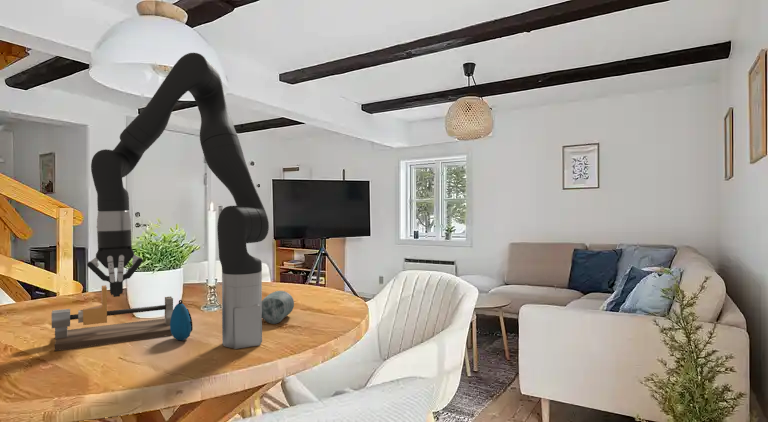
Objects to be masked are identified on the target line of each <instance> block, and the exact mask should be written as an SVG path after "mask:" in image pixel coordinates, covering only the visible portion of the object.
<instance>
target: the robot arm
mask: <svg viewBox="0 0 768 422" xmlns="http://www.w3.org/2000/svg"><path fill="white" fill-rule="evenodd" d="M224 91H225V90H224V86H223V82H222V78H221V76H220V73H219V71H218V70H217V69H216V67H214V66H213V64H211V62H210V61H209V60H208V59H207V58H206V57H205V56H204V55H202V54H200V53H198V52H188V53H186V54H183V56H181V57H180V58H179V59H178V60H177V61H176V63H175V64H174V65H173V67H171V69H170V71H169V73H168V74H167V75H166V77H165V79H164V80H163V81H162V83H161V84H160V85H159V87H158V89H157V91H155V93H154V94H153V96H152V97H151V99H150V100H149V101H148V103H147V104H146V105H145V106H144V108H143V109H142V110H141V111H140V113H139V114H138V115H137V116H136V117H135V118H134V119H133V120H132V121H131V122H130V123H129V124H128V125H127V126H126V128H124V129H123V130H122V131H121V133H120V135H119V140H120V141H119V142H118V144H117V145H116V146H115V147H114V149H108V148H107V149H106V148H105V149H100V150H99V151H97V152H96V153H94V155H93V157H92V159H91V163H90V170H91V171H90V172H91V177H92V181H93V184H94V187H95V191H96V196H97V198H96V199H97V200H96V202H97V203H96V205H97V218H96V232H97V233H96V235H97V251H96V254H95V257H93V259H91V260H90V261H87V263H86V265H87V267H88V268H89V269H90V270H91V271H92V272H93V273H94V274H95V275H97V277H98V278H100V280H101V281H104V282H108V283H109V294H110V295H111V296H113V298H117V297H121V295H122V294H123V293H124V285H123V284H124V281H125V280H127V279H131V277H132V276H133V275H134V273H135V272H136V271H137V269H138V268H139V267H140V266H141V264H142V263H143V261H144V259H143V258H142V257H139V256H137V255H136V254H135V252H134V250H133V245H132V241H133V240H132V219H131V214H130V197H129V192H128V190H127V189H126V188H125V187H124V183H123V178H125V177H126V176H128V175H129V174H131V172H132V171H133V170H134V169H135V168H136V166H137V165H138V164H139V162H140V160H141V158H142V157H143V156H144V153H145V152H146V151H147V150H148V149H149V148H150V147H152V145H153V144H154V143H156V141H157V140H158V139H159V138H160V137H161V135H162V134H163V133H164V132H165V130H166V128H167V126H168V124H169V121H170V117H171V115H172V112H173V110H174V108H175V106H176V104H177V103H178V102H179V100H180V99H181V98H182V97H183V96H184V95H185V94H186V93H187V92H189V93H190V94H191V95H192V97H193V99H194V101H195V104H196V106H197V109H198V111H199V115H200V120H201V121H200V127H199V143H200V146H201V150H202V153H203V156H204V159H205V162H206V165H207V166H208V168H209V169H210V171H211V172H212V173H213V175H215V176H216V178H217V179H218V180H219V181H220V182H221V183H222V184H223V186H225V187H226V189H227V190H228V191H229V193H230V195H231V196H232V198H233V200H234V202H235V205H228V206H226V207H223V209H221V211H220V212H219V216H218V219H217V226H216V227H217V229H216V230H217V243H218V258H219V259H218V260H219V263H220V265H221V300H222V301H221V319H222V321H221V323H222V325H221V326H222V327H221V328H222V329H221V330H222V332H221V333H222V334H221V336H222V338H221V339H222V342H221V343H222V346H223V347H226V348H231V349H234V350H237V349H246V348H251V347H256V346H257V347H258V346H261V344H262V342H263V319H262V300H263V297H262V296H263V290H262V289H263V286H262V285H263V282H262V281H263V274H262V270H263V269H262V268H263V267H262V265H263V263H262V260H261V259H260V258H258V257H254V256H252V255H251V254H249V252H248V248H247V244H255V243H260V242H263V241H264V240H265V239H266V238H267V237H268V234H269V230H270V223H269V218H268V214H267V211H266V209H265V207H264V204H263V202H262V200H261V198H260V196H259V194H258V191H257V188H256V187H255V185H254V182H253V180H252V177H251V173H250V171H249V168H248V165H247V163H246V159H245V156H244V153H243V148H242V146H241V145H242V144H241V143H240V139H239V137H238V132H237V131H236V129H235V125H234V122H233V120H232V117H231V115H230V112H229V109H228V107H227V102H226V98H225V97H226V96H225V92H224ZM98 261H99V262H100V264H101V265H102V266H103V267H104V268H105V269H107V270H108V275H106V273H104V272H103V271H102V270H101V269H100V268H99V266H100V264H99V263H98ZM130 261H131V263H132V265H131V266H130V267H129V269H128V270H127V271H126V272H125V273H124V268H125V267H126V266H128V264H129V263H130ZM115 269H117V270H116V271H117V275H116V274H115Z"/></svg>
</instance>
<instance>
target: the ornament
mask: <svg viewBox="0 0 768 422" xmlns="http://www.w3.org/2000/svg"><path fill="white" fill-rule="evenodd" d="M193 329H194V328H193V319H192V315H191V313H190V310H189V309H188V308H187V307H186V305H185V304H184V303H183V300H182V299H179V300H178V303H177V304H176V305H175V306H174V307H173V312H172V316H171V320H170V330H171V334H172V335H171V336H172V337H173V339H175V340H176V341H181V342H183V341H184V340H187V339H188V338H189V337H190V336H191V332H193Z"/></svg>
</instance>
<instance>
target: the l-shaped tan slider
mask: <svg viewBox="0 0 768 422" xmlns="http://www.w3.org/2000/svg"><path fill="white" fill-rule="evenodd" d="M107 291H108V286H107V285H104V284H103V285H101V304H100V305H91V306H83V307H82V310H83V322H82V325H83V326H89V325H90V326H91V325H98V324H106V323H108V316H107V311H108V300H107V299H108V295H107V294H108V292H107Z"/></svg>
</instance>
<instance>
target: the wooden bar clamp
mask: <svg viewBox="0 0 768 422" xmlns="http://www.w3.org/2000/svg"><path fill="white" fill-rule="evenodd" d="M173 310H174V298H173V296H170V295H169V296H164V304H163V305H162V304H160V305H154V306H153V305H151V306H143V307H135V308H122V309H115V310H107V317H111V316H116V315H117V316H119V315H129V314H135V313H136V314H137V313H145V312H155V311H164V318H158V319H157V318H156V319H148V320H140V321H133V322H124V323H123V322H122V323H117V324H116V323H115V324H106V325H97V326H90V327H82V328H72V329H68V327H71V320H78V324H81V323H82V324H83V309H78V311H77V312H78V313H76V314H71V308H65V309H54V310H52V311H51V329H54V339H55V342H54V352H59V351H65V350H74V349H80V348H87V347H96V346H102V345H109V344H116V343H125V342H131V341H138V340H139V341H140V340H145V339H152V338H153V339H154V338H161V337H168V336H169V337H170V336H173V335H172V334H171V330H170V320H171V316H172V312H173Z"/></svg>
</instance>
